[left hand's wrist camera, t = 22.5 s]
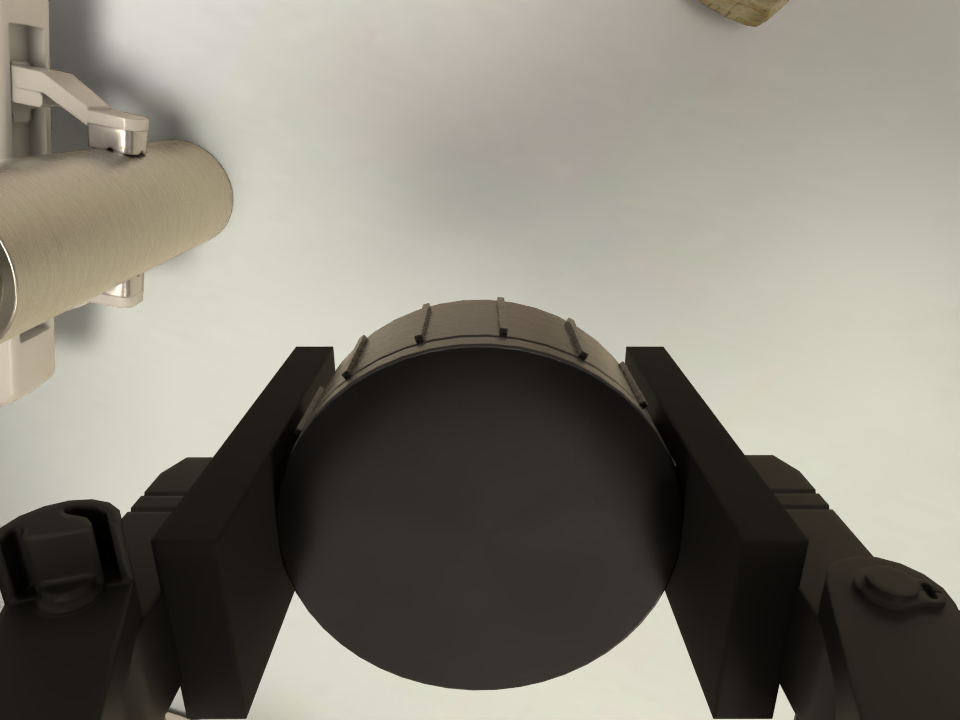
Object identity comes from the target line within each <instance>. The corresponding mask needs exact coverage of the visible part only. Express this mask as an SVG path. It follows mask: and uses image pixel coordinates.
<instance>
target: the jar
mask: <svg viewBox="0 0 960 720" xmlns="http://www.w3.org/2000/svg"><path fill="white" fill-rule="evenodd" d="M232 205H233V196H232V189H231V185H230V182H229V179H228V177H227V175H226V173H225V171H224V169H223V168H222V166H221V165H220V164H219V163H218V161H217V160H216V159H215V158H214V157H213V156H212V155H211V154H209V153H208V152H207V151H205V150H204V149H202V148H201V147H199V146H197V145H194V144H192V143H189V142H186V141H180V140H165V141H157V142H148V145H147V153H146V154H143V153H140V154H139V155H128V154H122V153H119V152H115V151H114V150H113V149H98V148H96V149H87V150H79V151H70V152H61V153H53V154H44V155H35V156H27V157H18V158H10V159H1V160H0V344H1V343H3V342H5V341H7V340H9V339H11V338H13V337H15V336H17V335H19V334H21V333H23V332H25V331H27V330H29V329H31V328H33V327H35V326H37V325H39V324H41V323H43V322H45V321H47V320H49V319H51V318H53V317H55V316H57V315H59V314H61V313H64V312H66V311H68V310H70V309H72V308H74V307H76V306H78V305H80V304H82V303H84V302H86V301H88V300H90V299H92V298H94V297H96V296H98V295H100V294H102V293H104V292H106V291H108V290H110V289H112V288H114V287H116V286H118V285H120V284H122V283H124V282H126V281H128V280H130V279H132V278H134V277H136V276H138V275H140V274H142V273H144V272H146V271H148V270H150V269H152V268H154V267H156V266H158V265H160V264H162V263H164V262H166V261H168V260H170V259H172V258H174V257H176V256H178V255H180V254H182V253H184V252H186V251H188V250H190V249H192V248H194V247H196V246H198V245H200V244H202V243H204V242H206V241H208V240H210V239H212V238H213V237H215V236H216V235H217V234H219V233H220V232H221V231H222V229H223V228H224V227H225V225H226V224H227V222H228V220H229V218H230V215H231V211H232Z"/></svg>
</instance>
